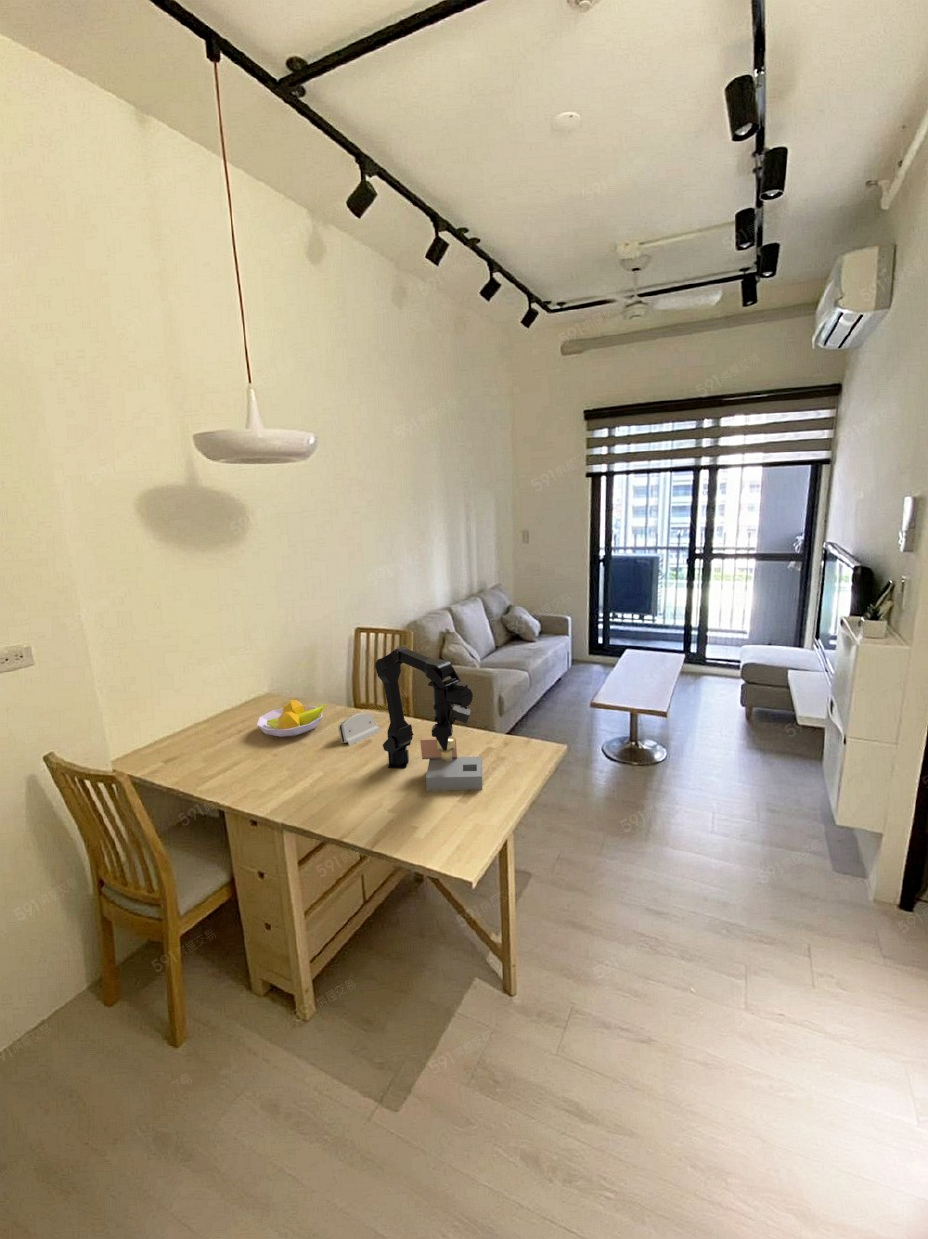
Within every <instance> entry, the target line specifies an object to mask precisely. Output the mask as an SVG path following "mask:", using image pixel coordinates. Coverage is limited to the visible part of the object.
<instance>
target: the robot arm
mask: <svg viewBox="0 0 928 1239" xmlns="http://www.w3.org/2000/svg"><path fill="white" fill-rule="evenodd" d="M374 663H375V664H374V665H375V666H374V668H375V671H376V674H377V677H378V679H380V680H381V682H382V683H383V689H384V693H385V699H386V705H387V710H388V715H389V726H388V729H387V739H386V740H385V742H383V744H382V747H383V751H385V752H387V755H388V756H387V758H388V765H387V768H388V769H396V768H399V769H400V768H402V769H403V768H407V766H408V764H409V762H410V753H409V751H410V750H409V749H407V747H409V746H411V744H412V743H411V742H412V740H413V736H414V733H413V726H412V724H409V723H408V722H407V721H406V719H405V715H404V710H403V703H402V696H401V692H400V685H399V679H400V675H401V672H402V666H401V665H402V664H405V665H407V666H410V668H411V667H412V668H414V669H416V670H419V671H420V672H423V673H424V675H425V677H426V678H427V679H428V680H430V681H429V682H428V683H427V686H428V687H432V691H433V706H432V707H433V710H434V718H433V719H434V722H435V724H434V725H432V726H431V727H432V728H431V737H432V738H436V739H437V740H438V742H439V744H440V745H441V747H442V749H443V750H444V751H446V750H447V745H448V737H450V736H453V733H454V728H453V725H454V723H456V721H457V722H460V723H463V724H468V723H469V719H470V716H471V713H472V712H471V709H470V708H469V705H471V703H472V701H473V697H474V696H473V694H474V693H473V692H472V690H471V689H470V688H468V686H469V685H468V684H467V683H460V682H461V679H460V677H459V675H458V673H457V672H456V670H455V669H454V667H453V664H452V663H451V662H450V661H449V660H446V659H442V658H441V659H440V658H430V657H428V656H425V655H423V654H420V653H418V652H417V651H416V652H415V651H413V650H411V649H409V648H408V647H406V646H401V647H399V648H395V649H393V650H392V651H391V652H389V653H388V654H386V655H385V656H384V657H380V658H378V659H377V660H376V662H374ZM449 678H450V679H449Z"/></svg>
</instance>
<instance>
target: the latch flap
mask: <svg viewBox="0 0 928 1239" xmlns="http://www.w3.org/2000/svg"><path fill="white" fill-rule="evenodd" d="M454 738H455V749H454V750H452V759H455V758H457V757H458V753H457V750H458V749H457V737H454ZM419 742H420V752H421V759H422V760H430V759H442V758H441V751H438V750H437V744H436V737H432V738H429V737H428V738H426V737H425V738H420V739H419Z"/></svg>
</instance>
